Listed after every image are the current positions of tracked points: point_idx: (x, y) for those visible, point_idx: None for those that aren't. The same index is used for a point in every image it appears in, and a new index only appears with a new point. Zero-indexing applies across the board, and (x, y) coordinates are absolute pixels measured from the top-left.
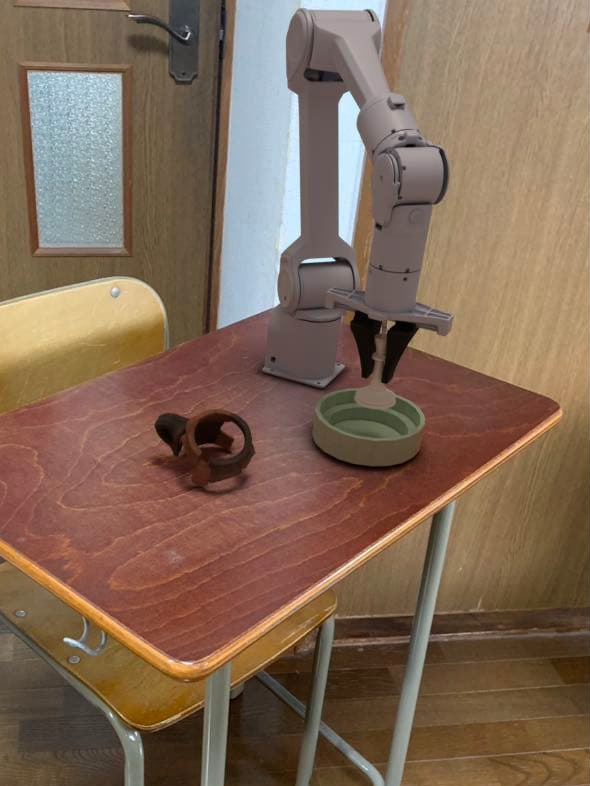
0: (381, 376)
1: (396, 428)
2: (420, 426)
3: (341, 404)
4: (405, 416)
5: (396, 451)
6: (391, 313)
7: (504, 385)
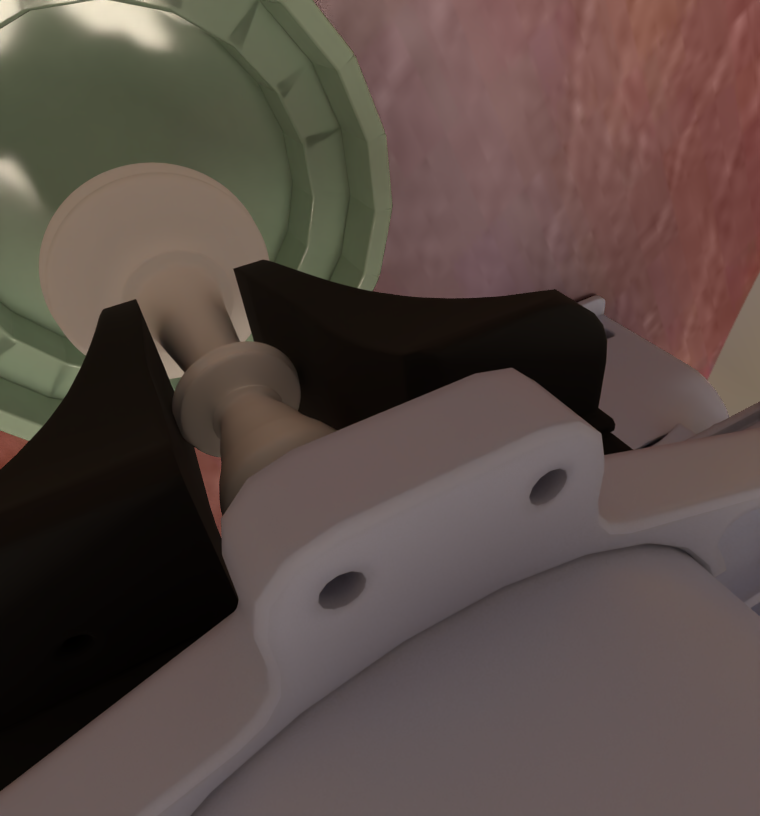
0: (167, 333)
1: None
2: None
3: (328, 275)
4: None
5: None
6: (246, 736)
7: None
